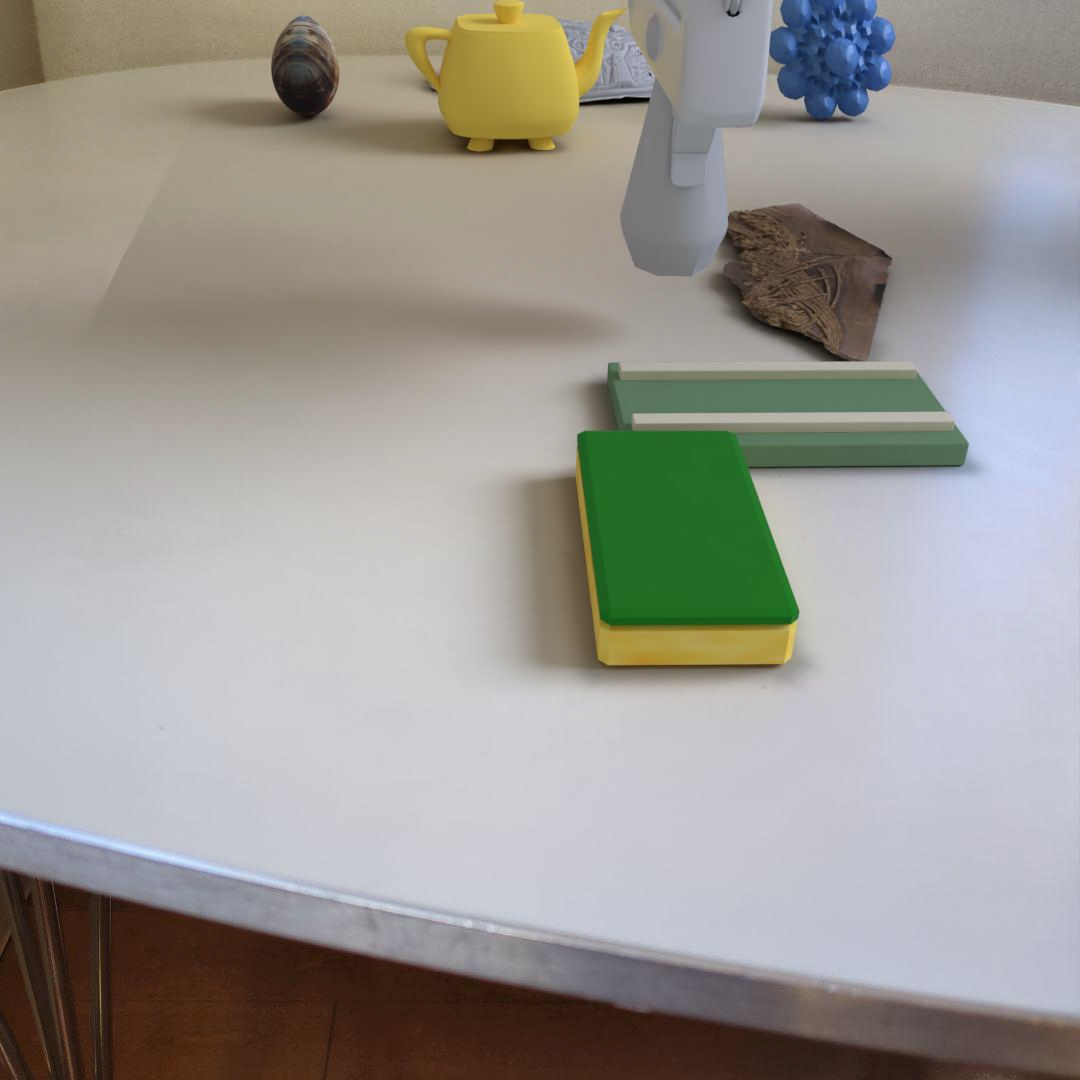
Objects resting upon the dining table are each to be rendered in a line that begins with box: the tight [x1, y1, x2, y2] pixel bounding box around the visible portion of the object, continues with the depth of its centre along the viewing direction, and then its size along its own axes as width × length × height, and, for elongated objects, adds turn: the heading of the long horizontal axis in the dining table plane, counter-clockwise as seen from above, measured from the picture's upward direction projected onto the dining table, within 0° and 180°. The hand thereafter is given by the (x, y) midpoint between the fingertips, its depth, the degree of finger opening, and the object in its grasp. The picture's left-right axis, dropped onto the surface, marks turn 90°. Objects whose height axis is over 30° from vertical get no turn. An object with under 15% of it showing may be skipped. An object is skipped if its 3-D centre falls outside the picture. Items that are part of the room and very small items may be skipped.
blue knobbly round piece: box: [769, 0, 896, 121], centre depth 105 cm, size 12×7×12 cm, turn 96°
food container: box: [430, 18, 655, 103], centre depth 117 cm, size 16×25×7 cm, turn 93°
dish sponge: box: [575, 430, 800, 666], centre depth 49 cm, size 7×14×2 cm, turn 2°
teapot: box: [404, 0, 628, 152], centre depth 99 cm, size 18×11×11 cm, turn 98°
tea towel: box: [606, 360, 970, 468], centre depth 59 cm, size 16×9×2 cm, turn 93°
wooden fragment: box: [723, 202, 893, 362], centre depth 76 cm, size 26×11×1 cm, turn 176°
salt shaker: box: [619, 14, 729, 277], centre depth 63 cm, size 6×6×13 cm
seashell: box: [270, 14, 340, 117], centre depth 104 cm, size 10×6×8 cm, turn 2°
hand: (678, 170), depth 64 cm, fingers closed on salt shaker, 3 cm apart
